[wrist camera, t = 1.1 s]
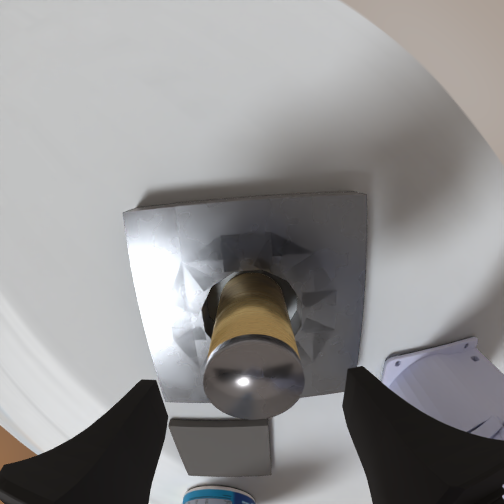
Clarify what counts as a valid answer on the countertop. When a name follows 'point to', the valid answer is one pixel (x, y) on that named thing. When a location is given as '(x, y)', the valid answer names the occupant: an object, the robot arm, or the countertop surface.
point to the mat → (223, 447)
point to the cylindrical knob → (253, 351)
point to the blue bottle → (217, 496)
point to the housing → (248, 259)
